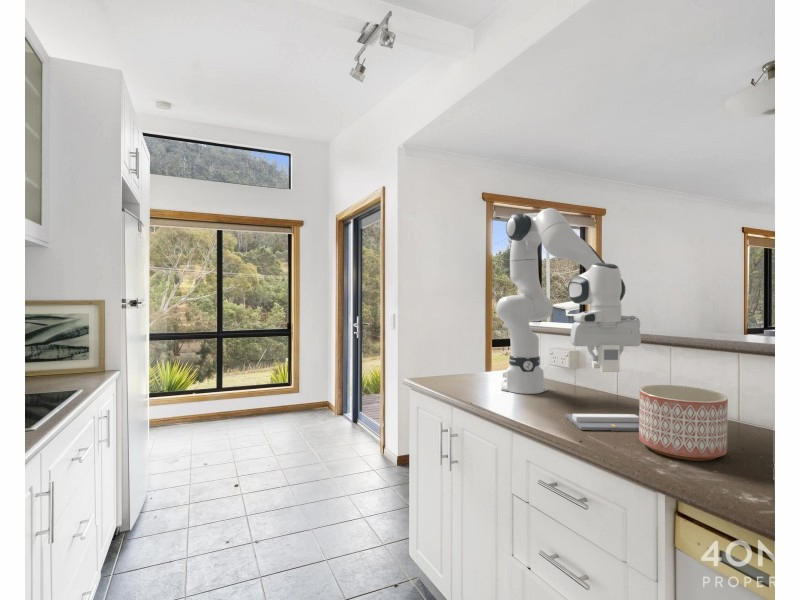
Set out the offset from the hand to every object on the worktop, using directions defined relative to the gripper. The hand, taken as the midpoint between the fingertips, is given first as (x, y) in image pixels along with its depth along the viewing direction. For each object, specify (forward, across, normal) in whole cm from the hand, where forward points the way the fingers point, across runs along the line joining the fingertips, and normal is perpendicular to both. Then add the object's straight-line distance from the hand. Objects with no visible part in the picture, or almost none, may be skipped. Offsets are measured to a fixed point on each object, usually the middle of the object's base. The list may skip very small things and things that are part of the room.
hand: (605, 360), depth 138 cm
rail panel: (+19, 0, 0) cm, 19 cm away
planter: (+20, -10, +22) cm, 31 cm away
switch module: (+3, 0, 0) cm, 3 cm away
